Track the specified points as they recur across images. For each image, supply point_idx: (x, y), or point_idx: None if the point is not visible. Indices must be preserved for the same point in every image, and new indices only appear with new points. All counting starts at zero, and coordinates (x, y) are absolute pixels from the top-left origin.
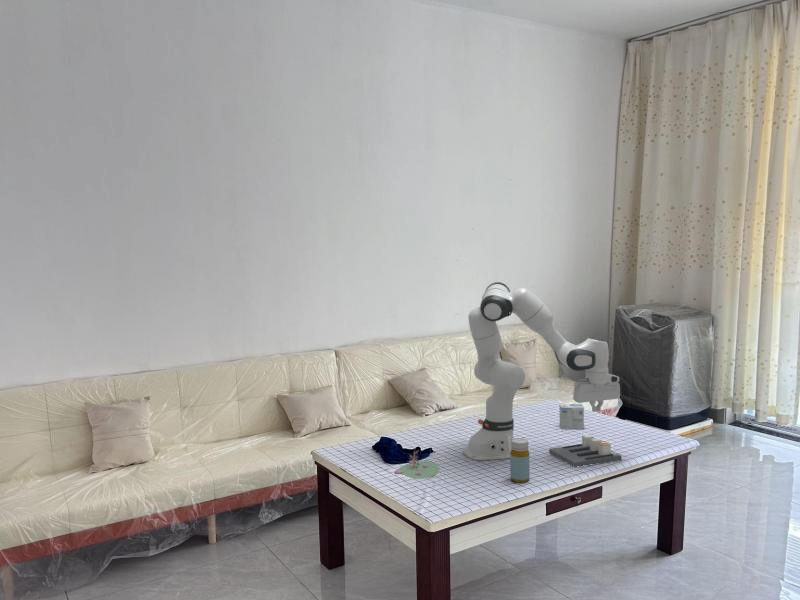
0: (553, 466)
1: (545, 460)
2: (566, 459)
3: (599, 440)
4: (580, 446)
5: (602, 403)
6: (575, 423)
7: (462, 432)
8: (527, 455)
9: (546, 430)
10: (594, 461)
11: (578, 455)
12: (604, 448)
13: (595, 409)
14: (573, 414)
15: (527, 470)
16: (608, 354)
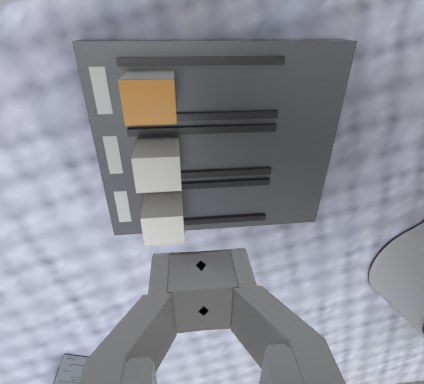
0: (400, 89)
1: (371, 157)
2: (338, 108)
3: (144, 162)
4: (193, 211)
5: (107, 350)
6: None
7: (373, 374)
8: None
9: (180, 360)
10: (242, 40)
11: (273, 121)
12: (164, 76)
13: (238, 267)
14: None
15: None
16: None
